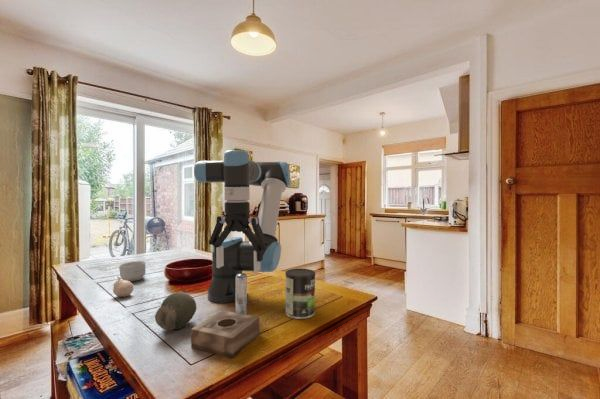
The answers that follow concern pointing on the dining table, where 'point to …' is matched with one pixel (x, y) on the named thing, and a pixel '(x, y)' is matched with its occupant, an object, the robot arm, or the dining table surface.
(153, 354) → the dining table surface
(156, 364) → the dining table surface
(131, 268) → the teacup
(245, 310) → the pin
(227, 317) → the bore block
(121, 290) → the garlic bulb
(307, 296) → the coffee can
